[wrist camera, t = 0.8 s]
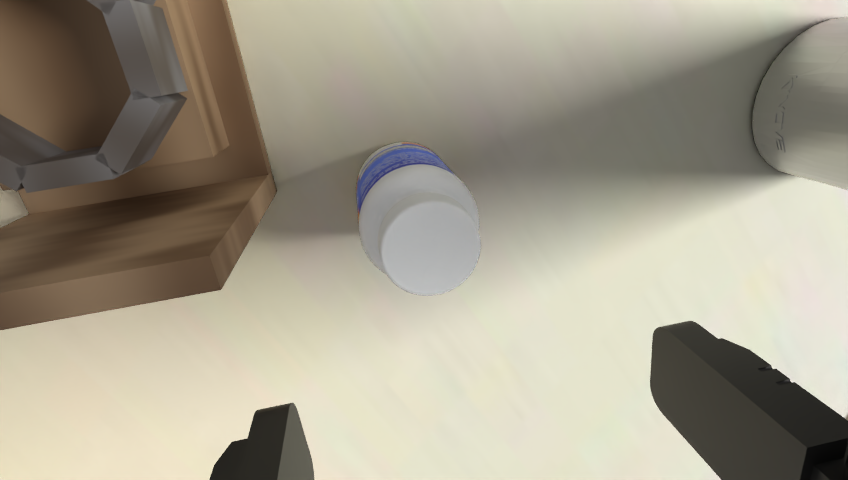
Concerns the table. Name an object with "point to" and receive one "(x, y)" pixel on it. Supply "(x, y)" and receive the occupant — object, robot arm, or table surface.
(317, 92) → the table surface
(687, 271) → the table surface
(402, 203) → the pill bottle
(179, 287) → the bracket
